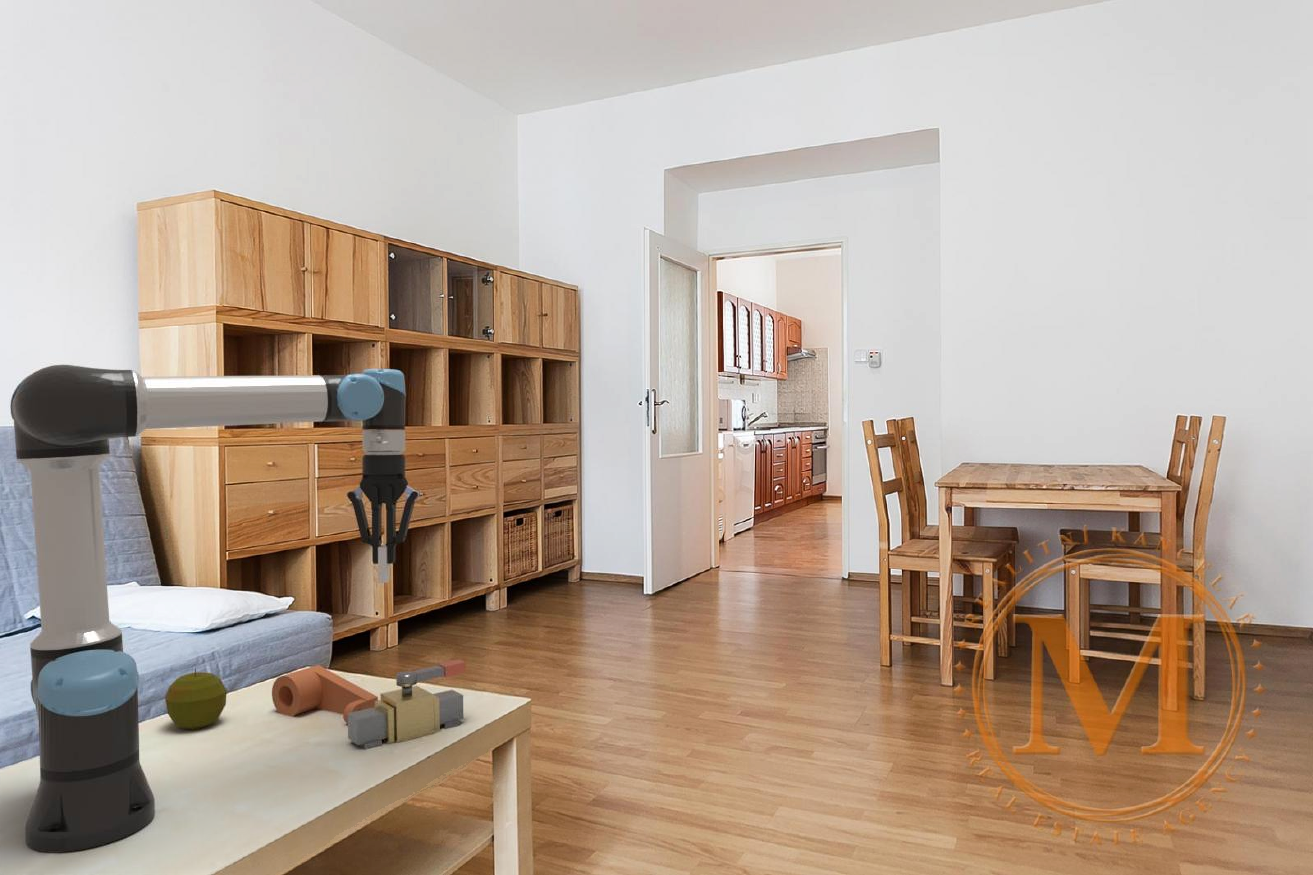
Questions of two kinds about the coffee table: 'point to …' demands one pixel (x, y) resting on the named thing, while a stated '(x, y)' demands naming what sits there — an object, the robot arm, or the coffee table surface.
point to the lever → (430, 673)
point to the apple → (195, 700)
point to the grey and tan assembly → (405, 716)
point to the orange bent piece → (319, 693)
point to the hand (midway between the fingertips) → (383, 581)
